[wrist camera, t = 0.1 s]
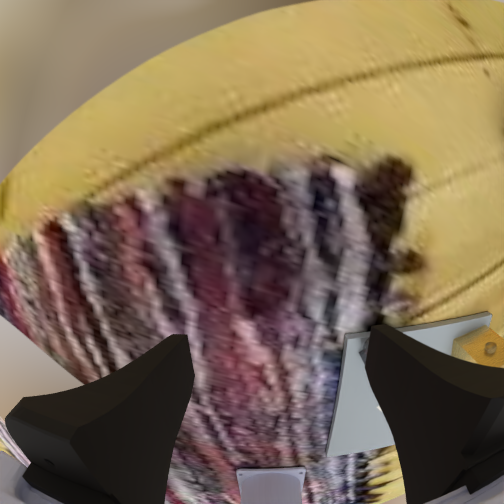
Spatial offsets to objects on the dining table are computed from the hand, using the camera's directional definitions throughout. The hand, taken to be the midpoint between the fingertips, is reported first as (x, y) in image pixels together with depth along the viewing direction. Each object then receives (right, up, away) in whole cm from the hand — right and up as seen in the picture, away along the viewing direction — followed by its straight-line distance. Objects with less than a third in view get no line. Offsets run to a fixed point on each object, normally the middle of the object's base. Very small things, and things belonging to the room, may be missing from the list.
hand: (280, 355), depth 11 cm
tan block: (+20, -6, +10) cm, 23 cm away
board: (+15, -10, +12) cm, 22 cm away
